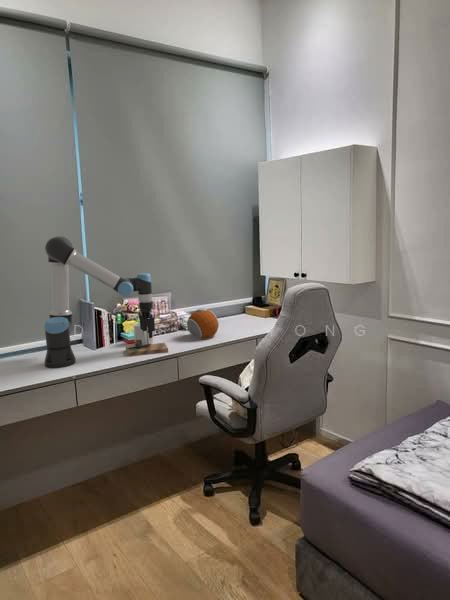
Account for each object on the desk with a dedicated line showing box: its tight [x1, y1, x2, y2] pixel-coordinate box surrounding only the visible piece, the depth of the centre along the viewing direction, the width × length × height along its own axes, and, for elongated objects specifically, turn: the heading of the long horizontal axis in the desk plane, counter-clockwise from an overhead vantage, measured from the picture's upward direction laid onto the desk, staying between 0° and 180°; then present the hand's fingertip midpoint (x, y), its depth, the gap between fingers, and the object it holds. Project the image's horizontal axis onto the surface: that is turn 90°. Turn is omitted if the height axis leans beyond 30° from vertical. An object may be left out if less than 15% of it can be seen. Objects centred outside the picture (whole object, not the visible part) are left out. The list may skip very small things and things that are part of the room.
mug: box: [133, 322, 155, 345], centre depth 282 cm, size 12×9×11 cm
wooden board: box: [125, 342, 169, 357], centre depth 264 cm, size 22×13×2 cm, turn 105°
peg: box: [128, 330, 152, 349], centre depth 263 cm, size 13×3×9 cm, turn 119°
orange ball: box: [186, 307, 220, 340], centre depth 291 cm, size 19×18×17 cm
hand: (148, 342), depth 266 cm, fingers open, 3 cm apart
